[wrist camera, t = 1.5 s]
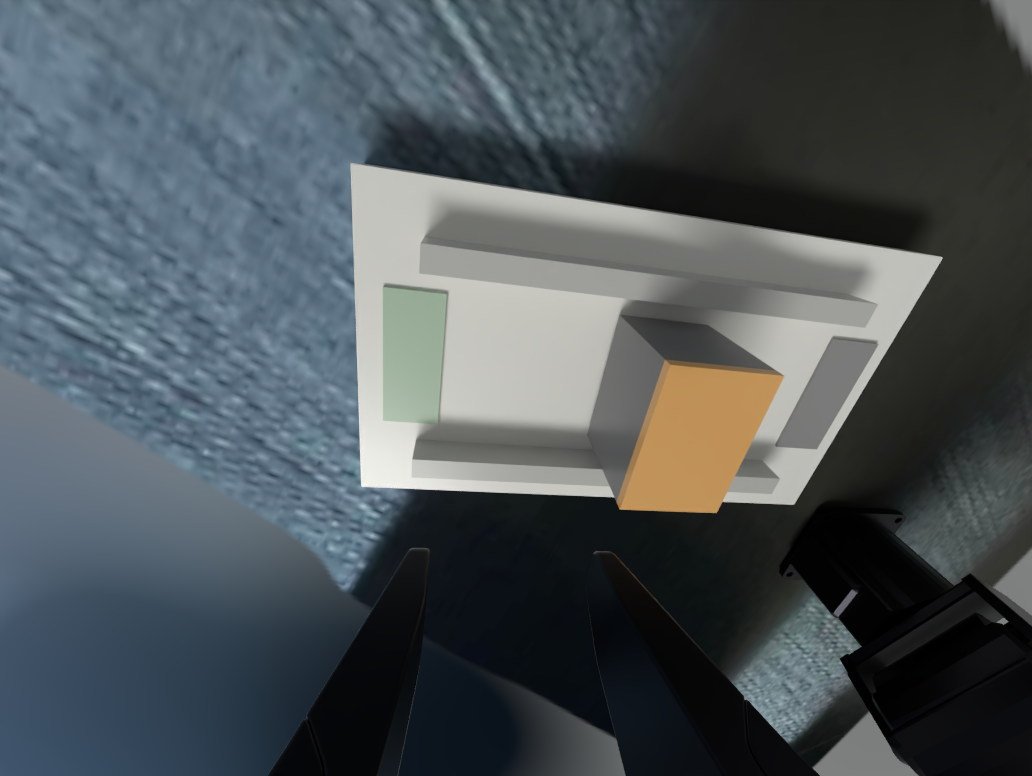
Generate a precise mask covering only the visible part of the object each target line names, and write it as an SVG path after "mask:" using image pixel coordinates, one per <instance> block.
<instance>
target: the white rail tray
mask: <svg viewBox="0 0 1032 776" xmlns="http://www.w3.org/2000/svg"><path fill="white" fill-rule="evenodd" d="M351 188H352V219H353V249H354V279H355V309H356V339H357V369H358V399H359V430H360V460H361V487H381V488H405V489H429V490H453V491H477V492H501V493H525V494H549V495H573V496H597V497H614V495H613V493H612V490H611V488H610V486H609V484H608V481H607V479H606V477H605V475H604V472H603V470H602V468H601V465H600V463H599V461H598V459H597V456H596V454H595V452H594V450H593V447H592V445H591V443H590V441H589V438H588V436H587V433H588V429H589V426H590V422H591V418H592V414H593V411H594V407H595V403H596V400H597V396H598V392H599V389H600V385H601V381H602V378H603V374H604V370H605V366H606V363H607V359H608V355H609V352H610V348H611V344H612V341H613V337H614V333H615V329H616V326H617V322H618V318H619V315H626V316H635V317H644V318H652V319H661V320H670V321H678V322H687V323H696V324H705V325H709V326H710V327H712V328H713V329H715V330H716V331H718V332H719V333H721V334H722V335H724V336H725V337H727V338H728V339H730V340H731V341H733V342H734V343H736V344H737V345H739V346H740V347H742V348H743V349H745V350H746V351H748V352H749V353H751V354H752V355H754V356H755V357H757V358H758V359H760V360H761V361H763V362H764V363H766V364H767V365H769V366H770V367H772V368H773V369H775V370H776V371H778V372H779V373H781V374H782V375H784V378H783V380H782V382H781V384H780V386H779V388H778V390H777V392H776V394H775V396H774V398H773V400H772V402H771V404H770V406H769V409H768V411H767V413H766V415H765V417H764V419H763V421H762V423H761V425H760V427H759V429H758V431H757V433H756V435H755V437H754V439H753V441H752V443H751V445H750V447H749V449H748V451H747V453H746V455H745V457H744V459H743V461H742V463H741V465H740V467H739V469H738V471H737V473H736V475H735V477H734V479H733V481H732V483H731V485H730V487H729V489H728V491H727V493H726V495H725V497H724V499H723V501H722V502H741V503H765V504H789V505H794V504H795V502H796V500H797V499H798V497H799V496H800V494H801V492H802V491H803V489H804V487H805V486H806V484H807V482H808V481H809V479H810V477H811V476H812V474H813V472H814V471H815V469H816V467H817V466H818V464H819V462H820V461H821V459H822V457H823V456H824V454H825V452H826V451H827V449H828V447H829V446H830V444H831V442H832V441H833V439H834V438H835V436H836V434H837V433H838V431H839V429H840V428H841V426H842V424H843V423H844V421H845V419H846V418H847V416H848V414H849V413H850V411H851V409H852V408H853V406H854V404H855V403H856V401H857V399H858V398H859V396H860V394H861V393H862V391H863V389H864V388H865V386H866V384H867V383H868V381H869V380H870V378H871V376H872V375H873V373H874V371H875V370H876V368H877V366H878V365H879V363H880V361H881V360H882V358H883V356H884V355H885V353H886V351H887V350H888V348H889V346H890V345H891V343H892V341H893V340H894V338H895V336H896V335H897V333H898V331H899V330H900V328H901V326H902V325H903V323H904V322H905V320H906V318H907V317H908V315H909V313H910V312H911V310H912V308H913V307H914V305H915V303H916V302H917V300H918V298H919V297H920V295H921V293H922V292H923V290H924V288H925V287H926V285H927V283H928V282H929V280H930V278H931V277H932V275H933V273H934V272H935V270H936V269H937V267H938V265H939V264H940V262H941V260H942V259H943V257H938V256H933V255H928V254H923V253H918V252H912V251H907V250H902V249H896V248H890V247H884V246H878V245H871V244H865V243H859V242H852V241H846V240H840V239H834V238H827V237H821V236H815V235H809V234H802V233H796V232H790V231H784V230H777V229H771V228H765V227H759V226H752V225H746V224H740V223H734V222H727V221H721V220H715V219H709V218H702V217H696V216H690V215H684V214H677V213H671V212H665V211H659V210H652V209H646V208H640V207H633V206H627V205H621V204H615V203H608V202H602V201H596V200H590V199H583V198H577V197H571V196H565V195H558V194H552V193H546V192H540V191H533V190H527V189H521V188H515V187H508V186H502V185H496V184H490V183H483V182H477V181H471V180H465V179H458V178H452V177H446V176H440V175H433V174H427V173H421V172H414V171H408V170H402V169H396V168H389V167H383V166H377V165H371V164H364V163H351Z"/></svg>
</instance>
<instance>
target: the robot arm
mask: <svg viewBox="0 0 1032 776" xmlns="http://www.w3.org/2000/svg"><path fill="white" fill-rule="evenodd" d="M905 519H906V516H905V515H904V514H902V513H901V512H900V511H897V510H873V509H848V508H822V509H820V510H819V511H818V512H817V513H816V514H815V516H814V517H813V519H812V521H811V522H810V524H809V525H808V527H807V528H806V530H805V531H804V533H803V534H802V536H801V538H800V539H799V541H798V542H797V544H796V545H795V547H794V548H793V550H792V552H791V553H790V555H789V556H788V558H787V559H786V561H785V562H784V564H783V566H782V567H781V569H780V571H779V573H780V574H781V576H782V577H783V578H784V579H803V580H804V581H805V582H806V583H807V585H808V586H809V587H810V588H811V590H812V591H813V592H814V593H815V594H816V596H817V597H818V598H819V599H820V601H821V602H822V603H823V604H824V606H825V607H826V608H827V609H828V611H829V612H830V613H831V614H832V615H833V616H834V617H836V618H838V619H839V620H840V621H841V622H842V623H843V625H844V626H845V627H846V628H847V630H848V631H849V632H850V633H851V634H852V636H853V637H854V638H855V639H856V641H857V642H858V643H859V644H860V645H861V646H862V647H860V648H859V649H857V650H856V651H854V652H853V653H851V654H850V655H849V654H846V655H844V656H843V657H841V658H840V660H841V662H842V664H843V665H844V667H845V669H846V670H847V672H848V673H847V674H848V676H849V678H850V680H851V681H852V683H853V685H854V686H855V688H856V690H857V691H858V693H859V695H860V696H861V698H862V700H863V701H864V703H865V705H866V707H867V708H868V710H869V712H870V713H871V715H872V716H873V718H874V720H875V721H876V723H877V725H878V727H879V728H880V730H881V731H882V733H883V735H884V737H885V738H886V740H887V742H888V743H889V745H890V747H891V749H892V751H893V753H894V754H895V756H896V757H897V758H898V759H899V760H900V761H901V762H902V763H904V764H906V765H909V766H910V767H911V768H912V769H913V770H914V771H915V772H916V773H917V774H918V775H919V776H1032V616H1031V615H1030V614H1029V613H1027V612H1026V611H1025V610H1024V609H1022V608H1021V607H1020V606H1018V605H1017V604H1016V603H1015V602H1013V601H1012V600H1011V599H1009V598H1008V597H1007V596H1005V595H1004V594H1002V593H1000V592H999V591H997V590H996V589H994V588H993V587H991V586H989V585H988V584H986V583H985V582H983V581H981V580H980V579H978V578H977V577H975V576H973V575H972V574H968V575H967V576H965V577H964V578H962V579H961V580H962V582H960V583H959V584H957V585H955V586H954V585H953V584H951V583H950V582H949V581H948V580H947V579H946V578H944V577H943V576H942V575H941V574H940V573H939V572H938V571H936V570H935V569H934V568H933V567H932V566H931V565H929V564H928V563H927V562H926V561H925V560H924V559H923V558H921V557H920V556H919V555H918V554H917V553H916V552H914V551H913V550H912V549H911V548H910V547H909V546H908V545H906V544H905V543H904V542H903V541H902V540H901V539H899V538H898V537H897V536H896V535H895V534H894V533H895V532H896V531H897V530H898V528H899V527H900V526H901V525H902V523H903V522H904V521H905ZM429 559H430V550H429V549H428V548H411V549H410V550H409V551H408V552H407V554H406V556H405V557H404V559H403V560H402V562H401V564H400V565H399V567H398V568H397V570H396V572H395V573H394V575H393V576H392V578H391V580H390V581H389V583H388V585H387V586H386V588H385V589H384V591H383V593H382V594H381V596H380V597H379V599H378V601H377V602H376V604H375V605H374V607H373V609H372V610H371V612H370V614H369V615H368V617H367V618H366V620H365V622H364V623H363V625H362V626H361V628H360V630H359V631H358V633H357V634H356V636H355V638H354V639H353V641H352V642H351V644H350V646H349V647H348V649H347V651H346V652H345V654H344V655H343V657H342V659H341V660H340V662H339V663H338V665H337V667H336V668H335V670H334V671H333V673H332V675H331V676H330V678H329V679H328V681H327V683H326V684H325V686H324V687H323V689H322V691H321V692H320V694H319V695H318V697H317V699H316V700H315V702H314V704H313V705H312V707H311V708H310V710H309V712H308V713H307V719H304V720H303V721H302V723H301V724H300V726H299V727H298V729H297V730H296V732H295V734H294V735H293V737H292V738H291V740H290V742H289V743H288V745H287V747H286V748H285V749H284V751H283V753H282V754H281V756H280V757H279V759H278V760H277V762H276V763H275V765H274V766H273V768H272V769H271V771H270V772H269V774H268V775H267V776H398V772H399V766H400V762H401V757H402V752H403V747H404V742H405V737H406V732H407V727H408V722H409V717H410V712H411V707H412V702H413V697H414V692H415V687H416V682H417V677H418V672H419V666H420V660H421V651H422V640H423V630H424V619H425V608H426V597H427V586H428V574H429ZM585 588H586V595H587V602H588V608H589V615H590V622H591V628H592V635H593V642H594V648H595V654H596V659H597V664H598V668H599V672H600V676H601V680H602V684H603V688H604V692H605V696H606V700H607V704H608V708H609V712H610V716H611V720H612V724H613V727H614V731H615V735H616V739H617V743H618V747H619V751H620V755H621V759H622V763H623V767H624V771H625V775H626V776H820V775H819V774H818V773H817V772H816V771H815V770H814V769H813V768H812V767H811V766H810V765H809V764H808V763H807V762H806V761H805V760H804V759H803V758H802V757H801V756H800V755H799V754H798V753H797V752H796V751H795V750H794V749H793V748H792V747H791V746H790V745H789V744H788V743H787V742H786V741H785V740H784V739H783V738H782V737H781V736H780V735H779V734H778V732H777V731H776V730H775V729H774V728H773V727H772V726H771V725H770V724H769V723H768V722H767V721H766V720H765V719H764V718H763V716H762V715H761V714H760V713H759V712H758V711H757V710H756V709H755V708H754V707H753V705H752V704H751V703H750V702H749V701H748V700H744V696H743V695H742V694H741V693H740V691H739V690H738V689H737V688H736V687H735V686H734V685H733V684H732V683H731V682H730V680H729V679H728V678H727V677H726V676H725V675H724V674H723V673H722V672H721V671H720V669H719V668H718V667H717V666H716V665H715V664H714V663H713V662H712V661H711V660H710V658H709V657H708V656H707V655H706V654H705V653H704V652H703V651H702V650H701V649H700V648H699V646H698V645H697V644H696V643H695V642H694V641H693V640H692V639H691V638H690V637H689V635H688V634H687V633H686V632H685V631H684V630H683V629H682V628H681V627H680V626H679V624H678V623H677V622H676V621H675V620H674V619H673V618H672V617H671V616H670V615H669V613H668V612H667V611H666V610H665V609H664V608H663V607H662V606H661V605H660V604H659V602H658V601H657V600H656V599H655V598H654V597H653V596H652V595H651V594H650V593H649V592H648V590H647V589H646V588H645V587H644V586H643V585H642V584H641V583H640V582H639V581H638V579H637V578H636V577H635V576H634V575H633V574H632V573H631V572H630V571H629V570H628V568H627V567H626V566H625V565H624V564H623V563H622V562H621V561H620V560H619V559H618V557H617V556H616V555H615V554H614V553H612V552H609V551H596V552H594V553H593V555H592V557H591V560H590V563H589V566H588V569H587V572H586V576H585ZM1002 618H1005V619H1006V620H1007V621H1009V622H1008V623H1006V624H1004V625H1003V624H1000V623H996V622H997V621H999V620H1000V619H1002Z"/></svg>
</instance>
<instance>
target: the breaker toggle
mask: <svg viewBox="0 0 1032 776" xmlns="http://www.w3.org/2000/svg"><path fill="white" fill-rule="evenodd" d="M783 378H784V375H782V374H781V373H779V372H778V371H776V370H775V369H773V368H772V367H770V366H769V365H767V364H766V363H764V362H763V361H761V360H760V359H758V358H757V357H755V356H754V355H752V354H751V353H749V352H748V351H746V350H745V349H743V348H742V347H740V346H739V345H737V344H736V343H734V342H733V341H731V340H730V339H728V338H727V337H725V336H724V335H722V334H721V333H719V332H718V331H716V330H715V329H713V328H712V327H710V326H709V325H705V324H696V323H687V322H678V321H670V320H661V319H652V318H644V317H635V316H626V315H619V318H618V322H617V326H616V329H615V333H614V337H613V341H612V344H611V348H610V352H609V355H608V359H607V363H606V366H605V370H604V374H603V378H602V381H601V385H600V389H599V392H598V396H597V400H596V403H595V407H594V411H593V414H592V418H591V422H590V426H589V429H588V433H587V436H588V438H589V441H590V443H591V445H592V447H593V450H594V452H595V454H596V456H597V459H598V461H599V463H600V465H601V468H602V470H603V472H604V475H605V477H606V479H607V481H608V484H609V486H610V488H611V490H612V493H613V495H614V497H615V500H616V502H617V504H618V506H619V509H622V510H649V511H676V512H703V513H717V511H718V509H719V507H720V505H721V503H722V501H723V499H724V497H725V495H726V493H727V491H728V489H729V487H730V485H731V483H732V481H733V479H734V477H735V475H736V473H737V471H738V469H739V467H740V465H741V463H742V461H743V459H744V457H745V455H746V453H747V451H748V449H749V447H750V445H751V443H752V441H753V439H754V437H755V435H756V433H757V431H758V429H759V427H760V425H761V423H762V421H763V419H764V417H765V415H766V413H767V411H768V409H769V406H770V404H771V402H772V400H773V398H774V396H775V394H776V392H777V390H778V388H779V386H780V384H781V382H782V380H783Z"/></svg>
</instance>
